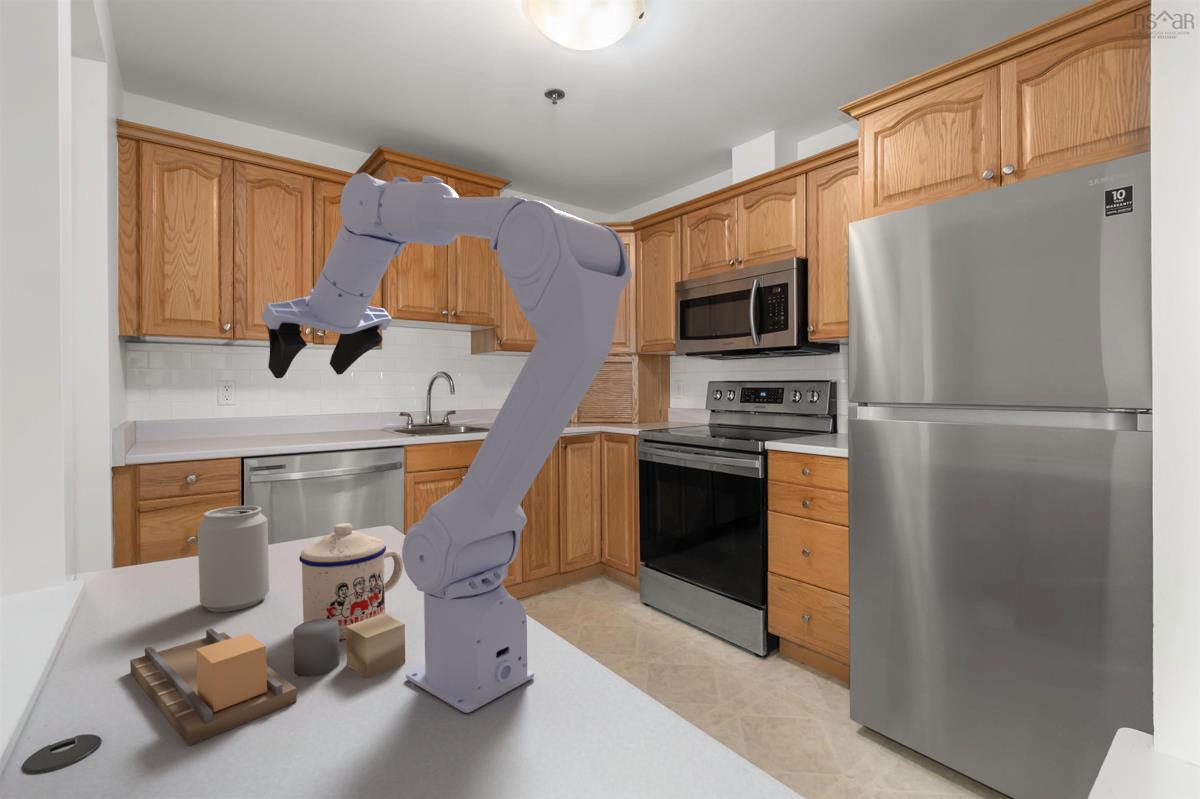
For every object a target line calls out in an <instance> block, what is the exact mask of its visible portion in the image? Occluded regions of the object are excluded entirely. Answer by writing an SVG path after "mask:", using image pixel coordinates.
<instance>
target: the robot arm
mask: <svg viewBox="0 0 1200 799" xmlns="http://www.w3.org/2000/svg"><path fill="white" fill-rule="evenodd" d="M339 202H340V203H339V205H340V206H339V208H340V218H341V221H342V224H341V227H340V229H339V231H338V233H337V236H336V238H335V240H334V243H333V245H332V247H331V249H330V251H329V254H328V256H327V258H326V261H325V262H324V265H323V267H322V269H321V272H320V274H319V276H318V278H317V280H316V284H314V287H313V288H312V289H310V290H309V292H308V294H309V296H304V297H303V296H302V297H298V298H295V299H290V300H286V301H281V302H265V303H266V304H265V305H264V308H263V311H262V313H261V316H260V317H261V319H262V321H263V322H264V324H265V325H266V329H267V334H268V340H269V357H268V358H269V359H268V366H267V368H268V369H269V371H270V373H272V375H273V377H274V378H275V379H282V378H283V377H285V375H286V374H287V372H288V371H289V368H290V366H291V364H292V362H293V361H294V359H295V357H296V356H297V355H298V354H299V353H300V352H301V351H302V350H303V349H305V348H306V347H307V346H308V344H307V342H306V341H305V339H304V338H303V337H302V330H301V326H302V327H303V326H305V327H310V328H314V329H319V330H321V331H322V330H323V331H327V332H331V333H337V334H339V337H338V341H337V342H336V345H335V347H334V350H333V352H332V354H331V357H330V359H329V365H330V367H331V368H332V370H333V371H334V372H335V373H336V375H337V376H339V375H343V374H344V373H346V371H347V370H348V369H349V368H350V367H351V366H352V365H353V364H354V363H355V362H356V361H357V360H358V359H359V358H361V357H363V355H364V354H365V353H367V352H369V351H371V350H373V349H374V348H377V347H379V346H380V345H381V343H382V342H383V337H382V335H381V334H380V332H379V331H387V329H388V327H389V325H390V323H391V321H392V319H393V318H392V317H391V315H390V314H389V313H388V311H387V310H386V309H385V308H381V307H374V306H370V303H371V301H372V299H373V297H374V295H375V294H376V291H377V290H378V288H379V285H380V283H381V281H382V279H383V277H384V275H385V274H386V271H387V269H388V267H389V265H390V263H391V261H392V260H393V259H394V258H397V256H398V257H399V256H400V255H401V253H402V251H403V249H404V248H405V247H406V246H407V245H409V244H413V243H414V244H422V245H428V246H429V245H430V246H436V247H445V246H447V245H450V244H452V243H453V242H455V241H456V239H458V237H459V236H460V235H461V236H466V237H474V238H480V239H486V240H489V248H490V249H491V251H494V252H496V253H497V260H498V265H499V267H500V270H501V271H502V274H503V276H504V278H505V281H506V282H507V285H508V287H509V288H510V290H511V292H512V294H513V296H514V298H515V300H516V302H517V304H518V306H519V308H520V310H521V312H522V313H523V316H524V318H525V320H526V322H527V323H528V325H530V326H531V327H532V328H533V331H534V334H535V336H536V337H535V338H536V341H535V344H534V346H533V347H532V349H531V352H530V353H529V355H528V357H527V359H526V361H525V363H524V365H523V366H522V368H521V370H520V371H519V374H518V376H517V378H516V380H515V382H514V383H513V385H512V387H511V389H510V391H509V393H508V395H507V397H506V399H505V401H504V402H503V404H502V406H501V408H500V410H499V412H498V413H497V415H496V417H495V419H494V421H493V423H492V425H491V426H490V428H489V430H488V433H487V434H486V436H485V438H484V440H483V442H482V444H481V445H480V447H479V449H478V451H477V453H476V455H475V457H474V459H473V460H472V463H471V464H470V466H469V467H468V470H467V472H466V473H465V475H464V477H463V479H462V481H461V482H460V485H459V486H458V487H455V489H453V490H451V491H450V492H449V493H447V494H446V495H444V496H442V497H441V498H440V499H439V500H437V501H435V502H434V503H433V504H431V505H430V506H429V507H428V509H427V511H426V513H425V514H424V516H423V517H422V518H421V519H420V520H419V521H418V522H416V523H413V524H412V525H411V526H410V527H409V528H408V529H407V532H406V533H405V536H404V539H403V544H402V551H401V552H402V553H401V555H402V556H401V558H402V561H403V568H404V570H405V572H406V574H407V577H408V579H409V580H410V581H411V582H412V584H413V585H414V586H415V587H416V590H417V591H419V592H423V611H424V613H423V614H424V615H423V617H424V664H423V665H421V666H419V667H417V668H414V669H411V670H409V671H407V673H406V674H405V679H406V680H408V681H409V682H410V683H411V682H412V683H413V684H414V685H417V686H418V687H420V688H421V689H423V690H425V691H426V692H428V693H430V694H432V695H434V696H435V697H437V698H439V699H440V700H442V701H444V702H446V703H447V704H448V705H451V706H452V707H454V708H456V709H458V710H459V711H461V712H462V713H466V714H467V713H472V712H474V711H475V710H477V709H479V708H480V707H482V706H485V705H486V704H488V703H489V702H492V701H493V700H496V699H497V698H499V697H501V696H503V695H504V694H506V693H508V692H510V691H512V690H513V689H515V688H517V687H520V686H521V685H523V684H524V683H526V682H528V681H530V680H532V679H533V678H534V677H535V672H534V671H533V670H532V669H529V668H528V627H527V626H528V620H527V612H526V609H525V607H524V606H523V604H522V602H521V601H519V600H518V599H517V598H515V597H514V596H513V595H511V594H510V593H509V591H507V589H506V587H505V585H504V582H503V580H504V579H505V578H507V577H508V576H509V572H508V571H509V570H508V569H509V568H508V566H509V565H510V564H512V563H513V562H514V560H515V559H516V557H517V555H518V553H519V548H520V540H521V534H522V532H523V531H524V530H523V529H524V527H525V526H526V524H527V523H528V518H527V516H526V514H525V511H524V510H523V508H522V506H521V504H522V501H523V500H524V498H525V497H526V494H527V493H528V491H529V489H531V486H532V484H533V483H534V481H535V479H536V478H537V476H538V474H539V473H540V471H541V469H542V468H543V466H544V464H545V463H546V462H547V459H548V458H549V456H550V454H551V452H552V450H553V449H554V447H555V446H556V444H557V443H558V441H559V439H560V437H561V436H562V434H563V432H564V431H565V429H566V427H567V426H568V424H569V423H570V420H571V419H572V417H573V416H574V414H575V413H576V411H577V409H578V407H579V405H580V404H581V402H582V401H583V399H584V398H585V396H586V394H587V392H588V391H589V388H590V387H591V385H592V384H593V382H594V380H595V379H596V377H597V375H598V374H599V372H600V371H601V369H602V367H603V366H604V364H605V362H606V360H607V359H608V356H609V355H610V352H611V349H612V346H613V339H614V332H615V326H616V323H617V322H616V320H617V314H618V308H619V303H620V297H621V295H622V294H623V292H624V291H625V289H626V287H627V285H628V284H629V282H630V281H631V278H632V276H633V273H632V269H631V266H630V265H631V264H630V261H629V258H628V254H627V250H626V247H625V243H624V241H623V240H622V237H621V236H620V235H619V233H618V232H617V231H616V230H615V229H613V228H611V227H610V226H607V225H604V224H600V223H599V224H597V223H594V222H592V221H588V220H585V219H583V218H579V217H577V216H575V215H572V214H569V213H566V212H563V211H561V210H558V209H555V208H553V207H552V206H551V205H548V204H547V203H545V202H543V201H540V200H536V199H535V200H527V199H525V198H522V197H519V196H515V195H510V196H468V197H467V196H466V197H464V196H462V197H461V196H459V195H458V193H457V192H456V191H455V190H454V189H453V188H452V187H450V186H449V185H447V184H445V183H444V180H443V179H441V178H439V177H436V176H433V175H423V176H422V181H415V182H414V181H410V179H408V178H406V177H403V176H393V177H392V181H391V180H390V181H387V180H386V181H385V180H382V179H379V178H375V177H373V176H372V175H371V174H368V173H365V172H360V173H358V174H354V175H352V176H351V177H349V179H348V180H347V181H346V183H345V185H344V187H343V190H342V192H341V196H340V201H339Z"/></svg>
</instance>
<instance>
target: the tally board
mask: <svg viewBox="0 0 1200 799" xmlns="http://www.w3.org/2000/svg"><path fill="white" fill-rule="evenodd" d="M230 638H232V637H231V636H230V635H228V634H227V633H226V632H225V631H223V632H221V633H220V632H219V633H218V632H217V631H215V630H214V629H213V628H208V629H206V630H205V637H204V638H199V639H196V640H192V641H189V642H187V643H186V642H185V643H183V644H179V645H175V646H173V647H169V648H166V649H163V650H160V651H156V649H155V648H154V647H153V646H152V645H149V646H146V647H144V655H143V656H139V657H135V658H133V659H130V660H129V661H130V662H129V665H130V666H129V667H130V673H131V675H132V676H133V677H134V679H135V680H136V681H137V682H138V684H139V686H141V687H142V689H143V690H144V691H145V692H146V693H147V695H148V696H149V697H150V698H151V700H152V702H153V703H155V705H156V706H157V708H158V709H159V710H160V712H161V713H162V714H163V715H164V716H165V718H166V719H167V720H168V722H170V724H171V725H172V727H173V728H174V729H175V730H176V732H177V733H178V734H179V736H180V737H181V738H182V739H183V740H184V743H186V744H187V746H188V747H190V746H192V745H195V744H197V743H199V742H202V741H205V740H207V739H210V738H212V737H214V736H217V735H220V734H222V733H224V732H227V731H229V730H231V729H234V728H236V727H239V726H241V725H244V724H246V723H249V722H251V721H253V720H255V719H258V718H260V717H262V716H265V715H268V714H270V713H273V712H275V711H278V710H280V709H282V708H284V707H285V708H286V706H287V707H288V706H290V705H292V704H294V703H297V701H298V698H297V697H298V696H297V692H298V691H297V687H296V686H294V685H293V684H292V683H291V682H289V681H288V680H287V679H286V678H284V677H283V676H282V675H281V674H279V673H278V672H276V671H275V670H274V669H273V668H271V667H270V666H268V665H267V664H266V667H267V692H265V693H262V694H259V695H257V696H254V697H252V698H249V699H246V700H244V701H241V702H239V703H236V704H233V705H231V706H228V707H226V708H223V709H220V710H218V711H215V712H213V711H212V710H211V709H210V708H209V707H208V706H207V704H206V703H205V702H204V701H203V700H202V699H201V698H200V697H199V696H198V689H197V657H196V649H198V648H201V647H204V646H208V645H211V644H214V643H217V642H221V641H224V640H227V639H230Z"/></svg>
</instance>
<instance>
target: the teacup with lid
mask: <svg viewBox="0 0 1200 799" xmlns="http://www.w3.org/2000/svg"><path fill="white" fill-rule="evenodd" d="M353 528H354V526H353V525H352V523H349V522H348V523H347V522H344V523H338V524H336V525H335V526H334V527H333V532H332V533H328V534H327V535H326V536H324V537H323V538H322V539H320V540H317V541H316V542H313V543H311V544H309V545H307V546H305V547H304V548H303V549H302V550H301V551H300V556H299V557H298V559H299V560H298V561H299V562H301V574H302V575H301V576H302V577H301V578H302V579H301V580H302V612H303V613H302V616H303V617H302V618H303V620H302V621H303V623H305V622H308V621H312V620H317V619H334V620H336V621H338V628H339V640H346V626H349V625H352V624H354V623H357V622H360V621H363V620H366V619H369V618H372V617H375V616H378V615H381V614H385V615H386V593H387V592H389V591H391V590H392V589H394V588H395V587H396V585H397V584H398V583H399V580H400V578H401V576H402V573H403V568H404V564H403V558H402V556H401V555H400V553H398V552H397V551H395V550H391V549H387V547H386V544H385V542H384V541H383V540H382V539H381V538H378V537H375V536H371V535H370V536H369V535H367V534H365V533H362V532H360V531H355V530H354V529H353ZM390 557H391V558H392V560H393V571H392V574H391V576H390V578H389V579H388V580H387V581H386V580H385V559H386V558H390ZM385 581H386V582H385Z"/></svg>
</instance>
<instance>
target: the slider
mask: <svg viewBox="0 0 1200 799" xmlns="http://www.w3.org/2000/svg"><path fill="white" fill-rule="evenodd" d="M196 657H197V689H198V696H199V697H200V698H201V699H202V700H203V701H204V702H205V703H206V704H207V706H208V707H209V708H210V709H211V710H212V711H213V712H215V711H218V710H220V709H223V708H226V707H228V706H231V705H233V704H236V703H239V702H241V701H244V700H246V699H249V698H252V697H254V696H257V695H259V694H262V693H265V692H267V667H266V665H267V646H266V644H264V643H263V642H262V641H260V640H259V639H257V638H256V637H255V636H253V635H251V633H249V632H248V633H247V632H246V633H244V634H241V635H237V636H234V637H231V638H230V639H227V640H224V641H221V642H217V643H214V644H211V645H208V646H204V647H201V648H198V649H196Z"/></svg>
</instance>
